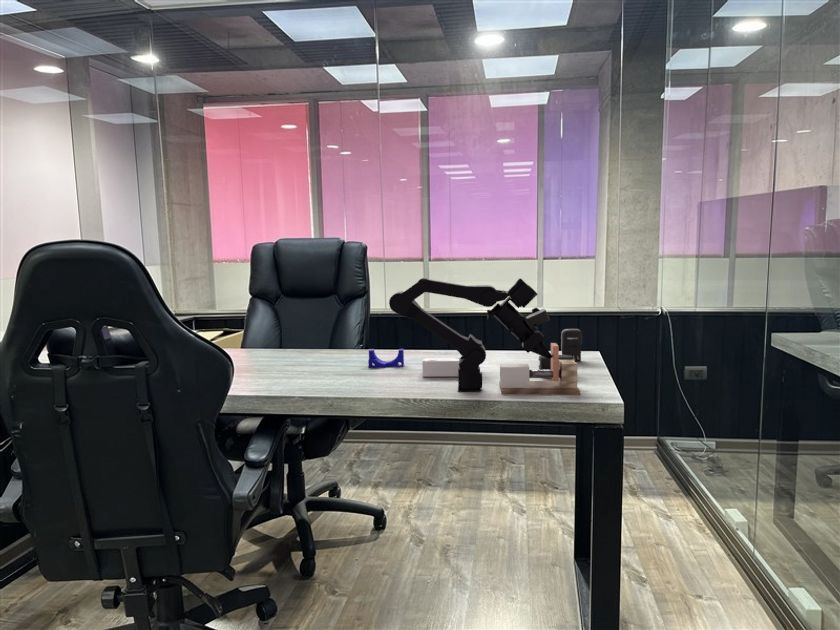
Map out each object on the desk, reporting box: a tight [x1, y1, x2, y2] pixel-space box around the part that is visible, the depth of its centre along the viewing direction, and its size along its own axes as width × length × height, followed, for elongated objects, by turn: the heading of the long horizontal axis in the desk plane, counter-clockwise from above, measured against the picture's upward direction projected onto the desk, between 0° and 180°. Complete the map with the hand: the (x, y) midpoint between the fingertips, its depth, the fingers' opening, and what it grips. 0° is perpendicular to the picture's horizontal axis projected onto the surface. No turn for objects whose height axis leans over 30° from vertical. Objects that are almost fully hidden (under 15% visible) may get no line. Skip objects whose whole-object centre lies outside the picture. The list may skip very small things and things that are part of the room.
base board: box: [499, 380, 581, 396], centre depth 163 cm, size 22×12×1 cm, turn 85°
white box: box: [421, 357, 461, 377], centre depth 185 cm, size 18×10×10 cm, turn 85°
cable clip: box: [367, 348, 405, 369], centre depth 199 cm, size 12×4×6 cm, turn 87°
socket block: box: [559, 360, 578, 388], centre depth 162 cm, size 4×6×7 cm
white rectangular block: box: [499, 363, 530, 388], centre depth 163 cm, size 8×5×6 cm, turn 85°
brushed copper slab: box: [529, 342, 561, 381], centre depth 162 cm, size 13×5×10 cm, turn 85°
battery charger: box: [560, 328, 583, 362], centre depth 200 cm, size 7×4×11 cm, turn 84°
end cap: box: [538, 354, 573, 370], centre depth 179 cm, size 10×7×7 cm
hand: (551, 357), depth 161 cm, fingers closed, pressing on brushed copper slab
